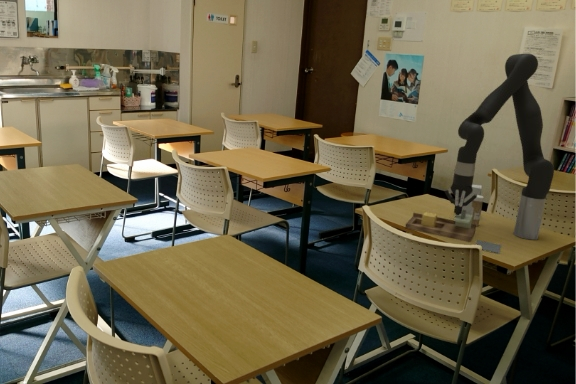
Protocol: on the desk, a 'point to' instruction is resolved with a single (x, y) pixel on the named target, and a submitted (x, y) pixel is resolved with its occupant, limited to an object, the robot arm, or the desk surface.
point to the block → (429, 219)
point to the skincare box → (476, 190)
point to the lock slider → (463, 220)
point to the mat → (489, 246)
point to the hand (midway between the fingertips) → (457, 214)
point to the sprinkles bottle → (476, 209)
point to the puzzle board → (442, 228)
